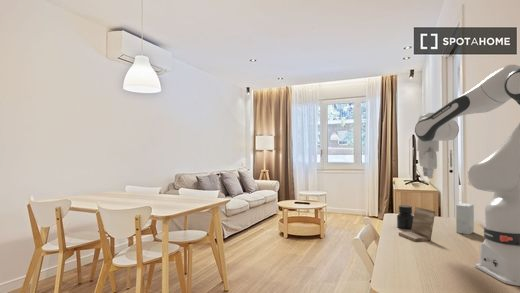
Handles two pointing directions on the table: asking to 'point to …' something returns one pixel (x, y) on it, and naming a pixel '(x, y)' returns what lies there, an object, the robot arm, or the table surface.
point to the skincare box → (465, 218)
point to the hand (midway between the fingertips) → (427, 177)
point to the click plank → (423, 222)
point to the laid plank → (413, 236)
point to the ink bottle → (405, 217)
